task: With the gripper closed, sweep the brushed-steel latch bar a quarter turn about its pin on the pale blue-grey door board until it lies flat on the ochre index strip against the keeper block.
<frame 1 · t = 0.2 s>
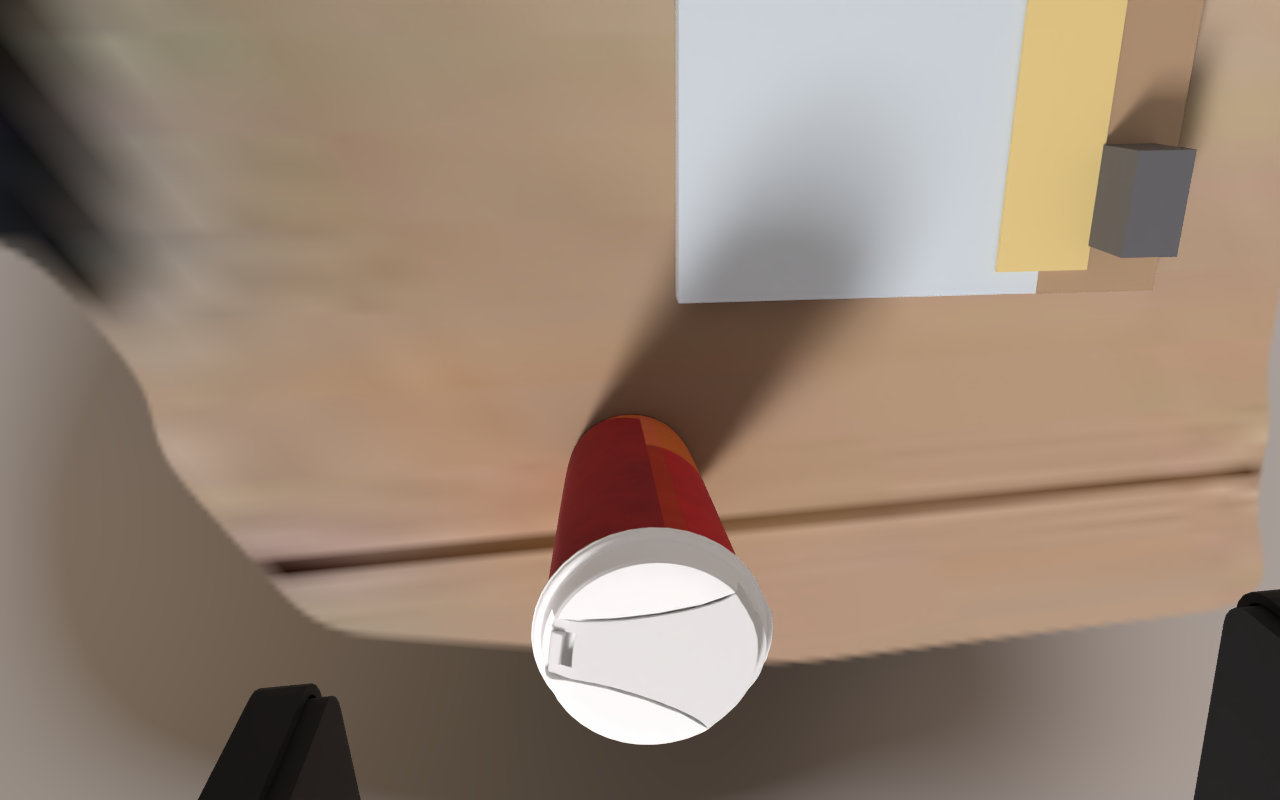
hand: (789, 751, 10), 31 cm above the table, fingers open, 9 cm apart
paper cup: (631, 469, 42), on the table
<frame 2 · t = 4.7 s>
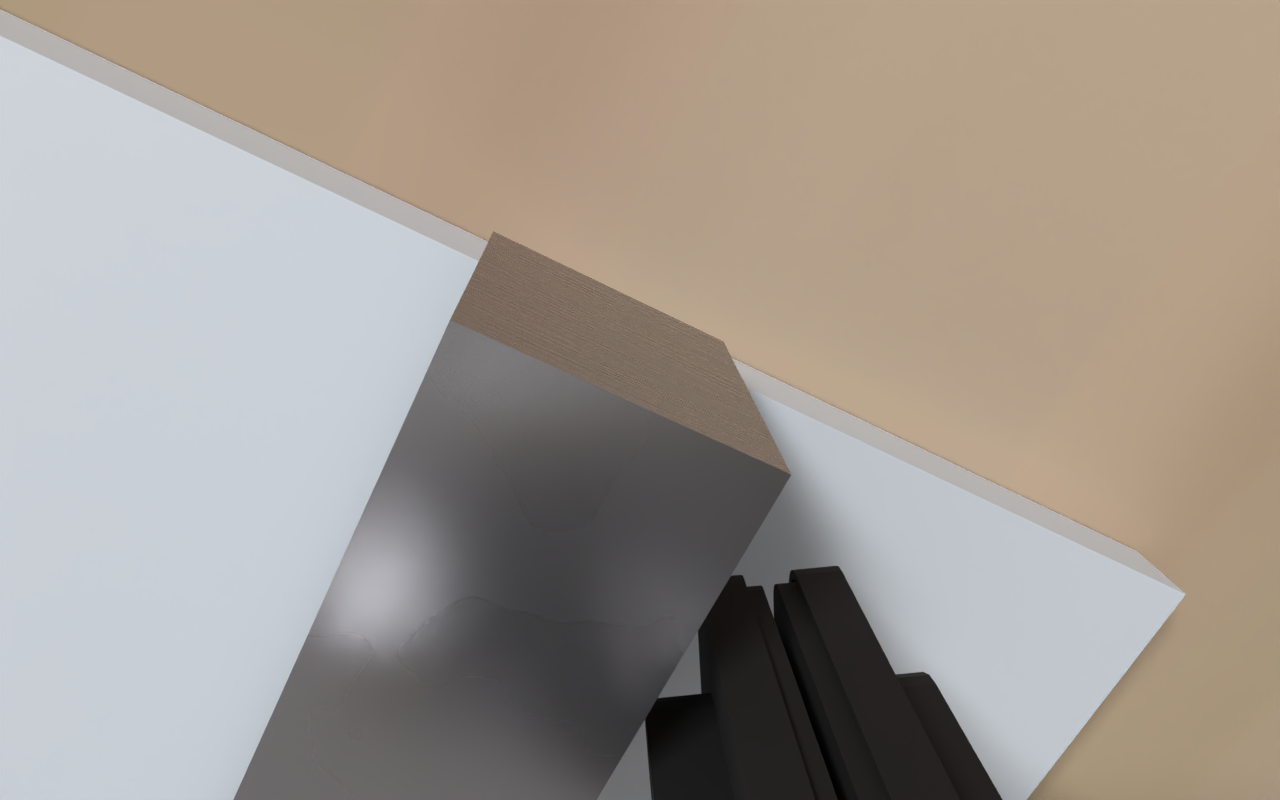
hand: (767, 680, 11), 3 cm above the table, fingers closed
door board: (58, 764, 14), on the table
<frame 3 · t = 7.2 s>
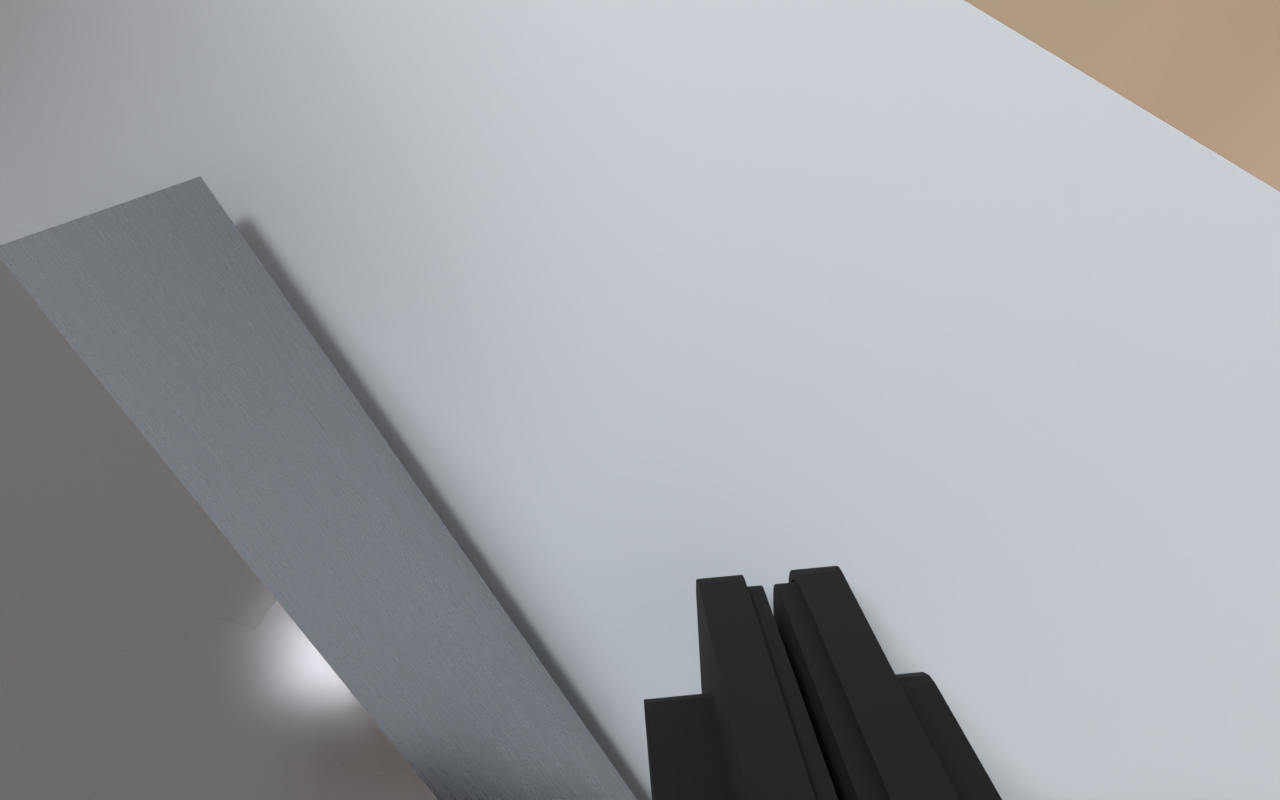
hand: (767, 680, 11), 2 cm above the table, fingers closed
door board: (659, 713, 14), on the table
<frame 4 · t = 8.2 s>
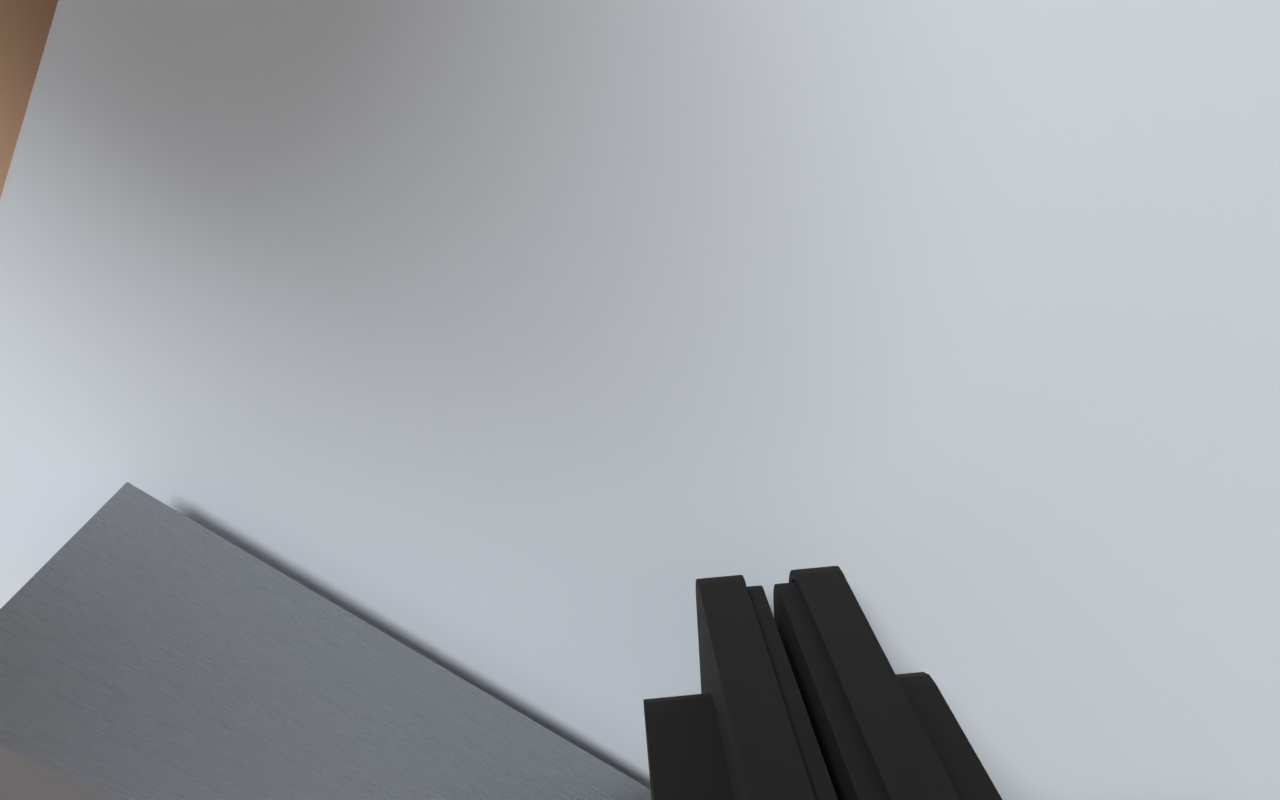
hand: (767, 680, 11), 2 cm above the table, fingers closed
door board: (923, 686, 14), on the table
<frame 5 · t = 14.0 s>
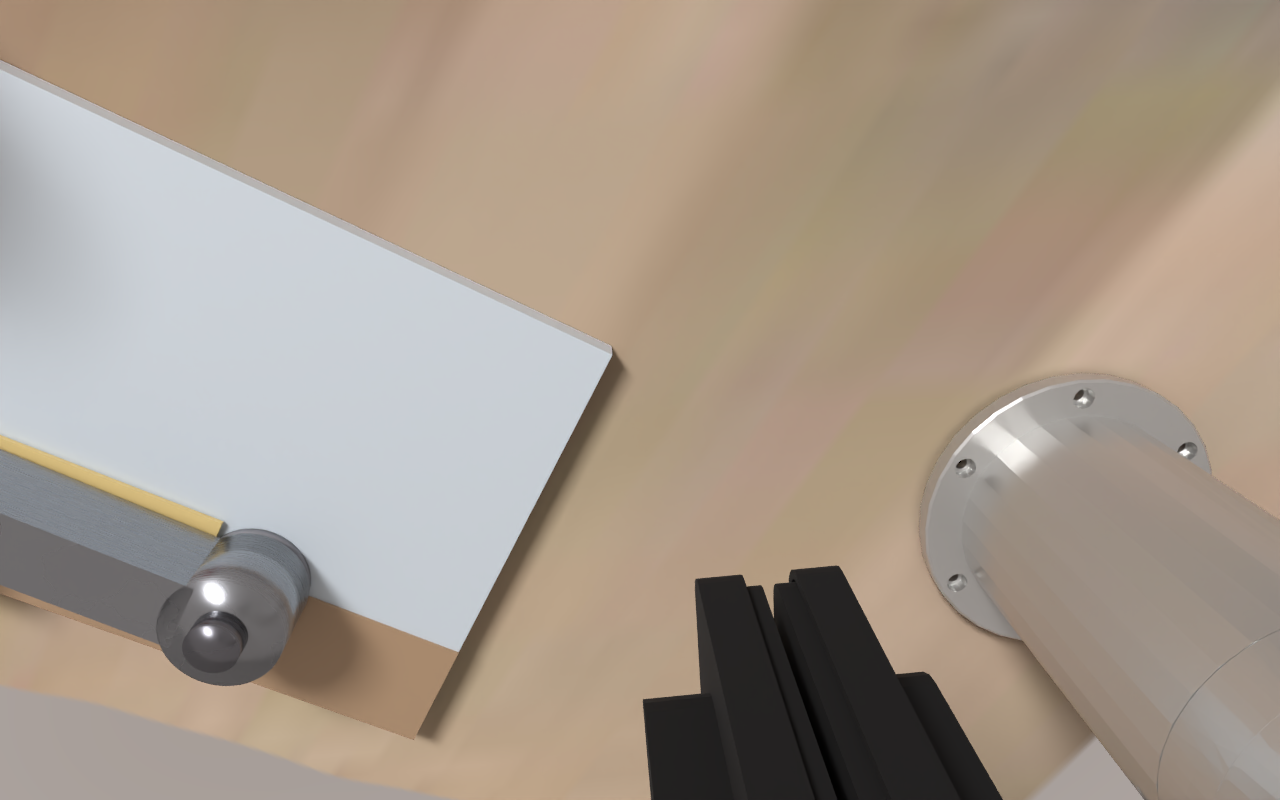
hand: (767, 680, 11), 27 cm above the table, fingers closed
door board: (211, 424, 38), on the table
latch bar: (59, 547, 35), point 4 cm above the table, hinge at -1.4°
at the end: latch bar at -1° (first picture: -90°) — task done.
